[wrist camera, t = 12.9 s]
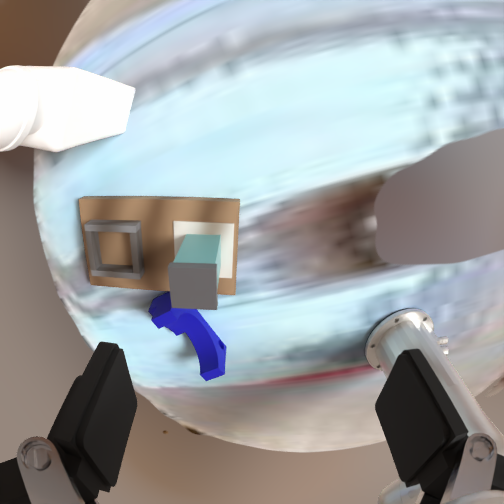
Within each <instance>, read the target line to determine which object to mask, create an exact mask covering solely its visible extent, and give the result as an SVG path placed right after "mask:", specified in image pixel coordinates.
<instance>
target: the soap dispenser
mask: <svg viewBox="0 0 504 504" xmlns="http://www.w3.org/2000/svg"><path fill="white" fill-rule="evenodd" d="M134 94H135V88H133V87H131V86H128V85H125V84H122V83H119V82H117V81H114V80H111V79H108V78H105V77H103V76H100V75H97V74H94V73H91V72H88V71H85V70H82V69H79V68H75V67H45V66H18V65H16V66H7V67H4V68H2V69H0V151H9V150H12V149H14V148H16V147H17V146H19V145H20V146H27V147H32V148H37V149H42V150H47V151H51V152H60V151H63V150H66V149H69V148H73V147H76V146H79V145H82V144H86V143H89V142H93V141H96V140H100V139H104V138H107V137H111V136H115V135H119V134H123V133H124V132H125V129H126V125H127V121H128V117H129V113H130V109H131V105H132V101H133V98H134Z"/></svg>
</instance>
